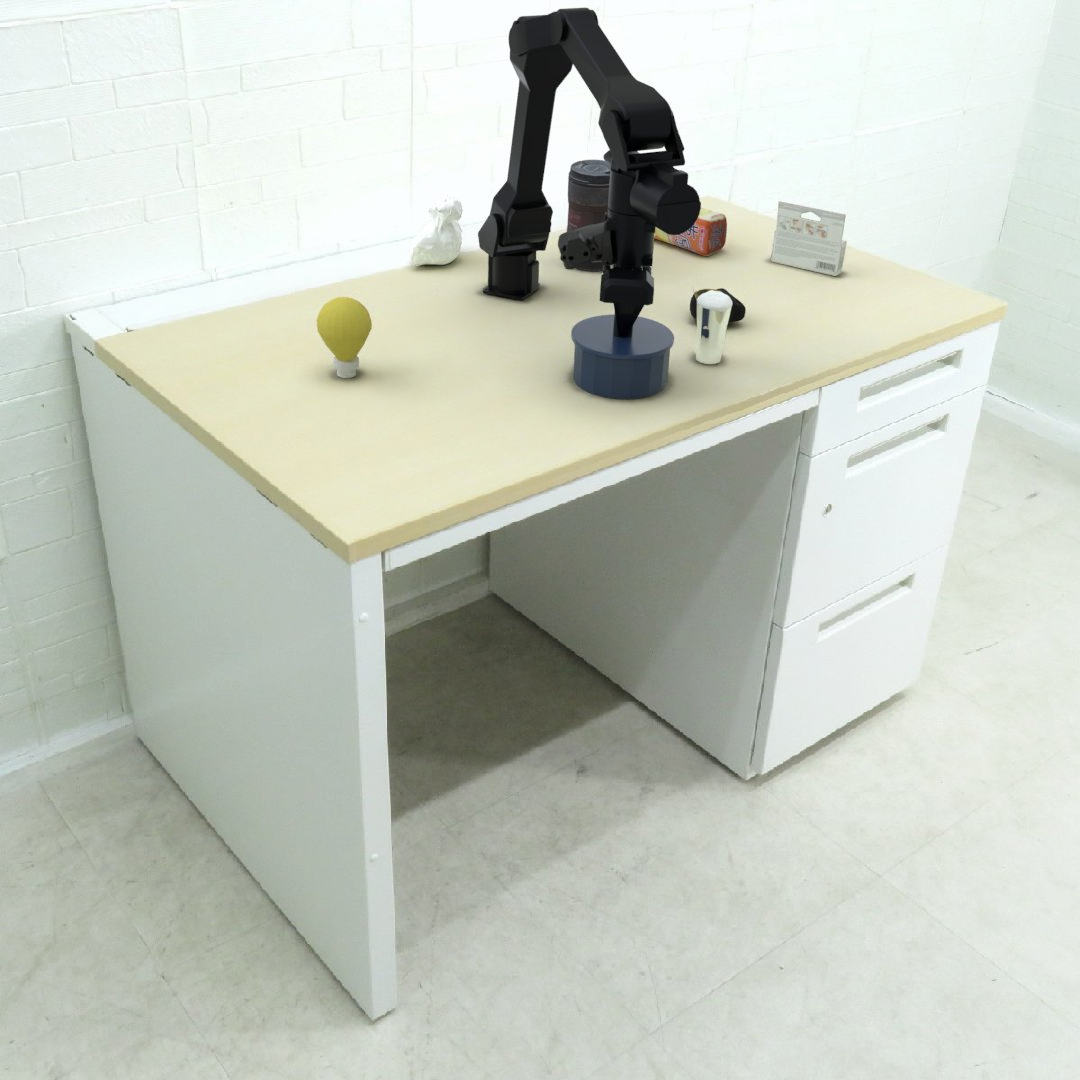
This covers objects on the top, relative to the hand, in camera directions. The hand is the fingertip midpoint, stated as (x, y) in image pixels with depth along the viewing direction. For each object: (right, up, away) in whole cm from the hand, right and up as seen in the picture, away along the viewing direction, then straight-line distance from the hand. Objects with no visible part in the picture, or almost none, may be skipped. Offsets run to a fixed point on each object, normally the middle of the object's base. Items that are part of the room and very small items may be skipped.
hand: (622, 331), depth 160 cm
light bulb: (-35, -5, +2) cm, 35 cm away
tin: (0, -5, +3) cm, 6 cm away
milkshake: (+11, -2, +9) cm, 15 cm away
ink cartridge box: (+31, +16, +41) cm, 54 cm away
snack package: (+10, +23, +50) cm, 56 cm away
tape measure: (+15, +5, +21) cm, 26 cm away
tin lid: (0, -1, 0) cm, 1 cm away
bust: (-26, +17, +37) cm, 48 cm away
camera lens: (-2, +16, +39) cm, 42 cm away
